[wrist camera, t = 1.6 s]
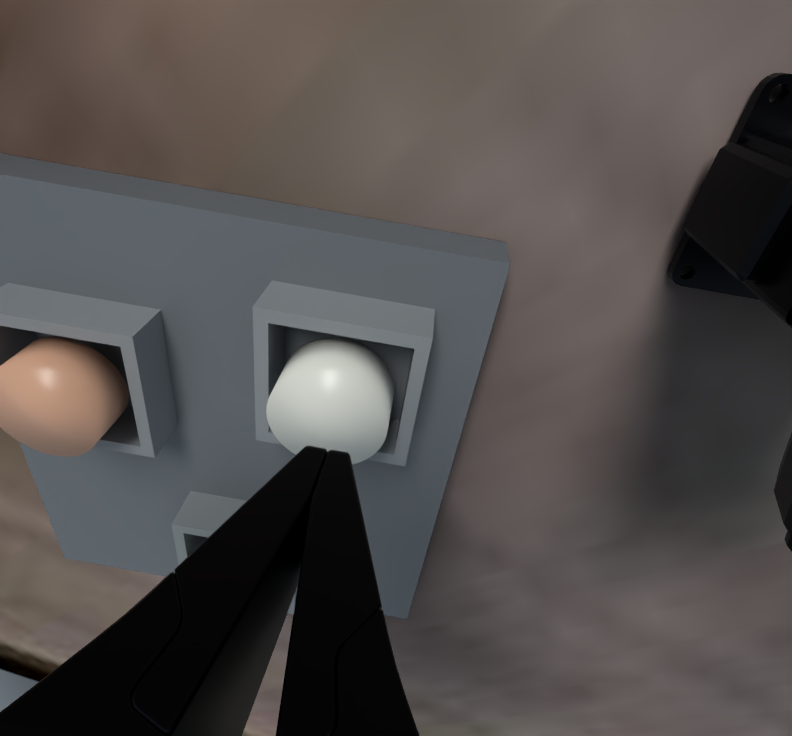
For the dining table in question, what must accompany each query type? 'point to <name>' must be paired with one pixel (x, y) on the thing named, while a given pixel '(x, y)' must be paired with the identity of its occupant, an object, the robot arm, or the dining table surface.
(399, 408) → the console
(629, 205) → the dining table surface
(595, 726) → the dining table surface
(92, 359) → the terracotta button
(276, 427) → the ivory button
